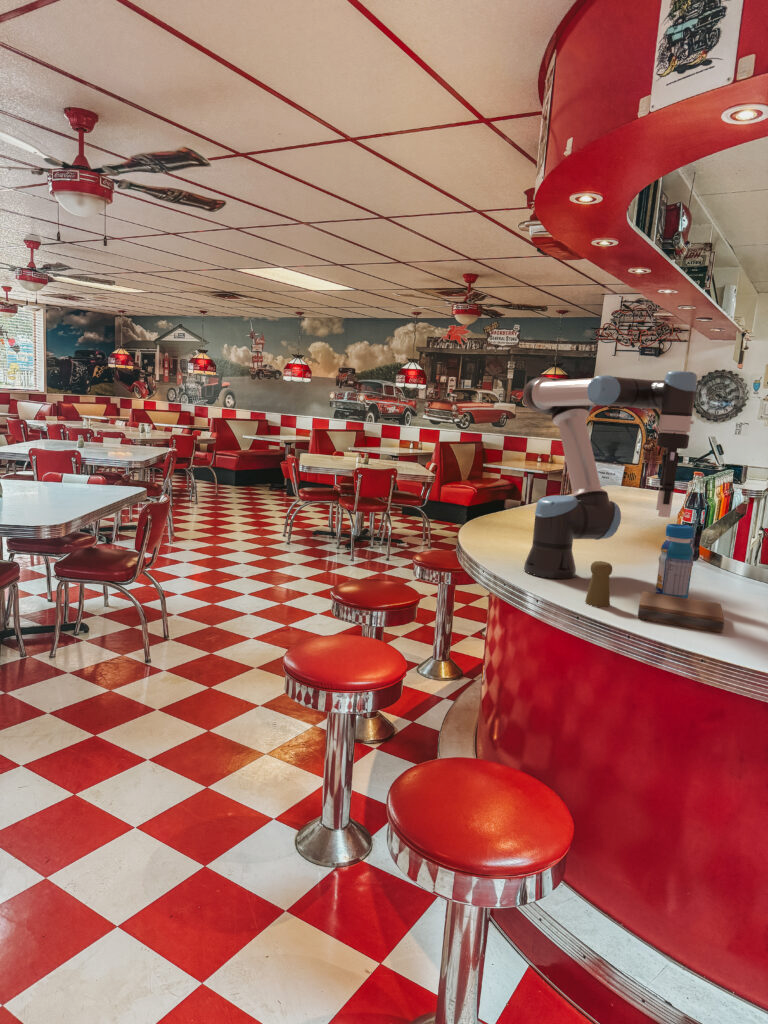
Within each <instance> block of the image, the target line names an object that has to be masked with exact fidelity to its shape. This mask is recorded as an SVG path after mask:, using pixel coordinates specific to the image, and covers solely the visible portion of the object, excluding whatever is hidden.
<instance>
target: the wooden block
mask: <svg viewBox="0 0 768 1024" xmlns="http://www.w3.org/2000/svg"><path fill="white" fill-rule="evenodd" d="M639 618H644V619H648V620H647V621H650V620H654V621H653V622H656V621H659V622H658V623H662V622H664V623H663V624H667V623H670V624H669V625H673V624H675V625H674V626H679V625H680V626H681V627H685V626H686V627H685V628H692V629H697V630H703V631H709V632H715V633H721V634H722V633H723V630H724V627H725V616H724V611H723V607H722V604H721V603H720V602H714V601H713V602H712V601H708V600H707V601H706V600H702V599H701V600H700V599H694V598H689V597H688V598H682V597H676V596H669V595H663V594H657V593H655V592H649V591H642V592H641V596H640V600H639V605H638V611H637V619H639ZM644 619H643V620H644ZM680 626H679V627H680Z"/></svg>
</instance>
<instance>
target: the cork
mask: <svg viewBox="0 0 768 1024" xmlns="http://www.w3.org/2000/svg"><path fill="white" fill-rule="evenodd" d="M590 572H591V574H592V575H591V577H590V582H589V586H588V589H587V593H586V597H585V600H584V603H585V602H586V603H587V604H589V605H588V606H590V605H592V606H591V607H594V606H597V607H596V608H600V607H606V608H610V607H611V606H610V605H611V604H610V603H611V601H610V599H611V598H610V597H611V596H610V595H611V593H610V576H611V574H612V573H613V565H612V564H611V563H610V562H607V561H601V560H598V561H597V560H596V561H594V562H592V563H591V565H590ZM586 603H585V604H586ZM587 604H586V605H587Z"/></svg>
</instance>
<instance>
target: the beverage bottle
mask: <svg viewBox="0 0 768 1024" xmlns="http://www.w3.org/2000/svg"><path fill="white" fill-rule="evenodd" d="M694 536H695V528H694V526H691V525H686V524H679V523H668V524H666V529H665V537H666V538H667V539H666V540H665V541H664V542H663V543H662V545H661V546H660V552H661V553H660V555H659V556H658V571H657V579H656V587H655V591H654V593H657V594H663V595H669V596H676V597H682V598H688V599H689V589H690V583H691V576H692V569H693V567H694V559H693V556H694V555H695V551H694V550H695V549H694V546H693V544H692V542H691V541H693V539H694Z"/></svg>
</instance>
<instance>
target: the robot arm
mask: <svg viewBox="0 0 768 1024" xmlns="http://www.w3.org/2000/svg"><path fill="white" fill-rule="evenodd" d="M697 381H698V374H696V373H695V372H693V371H686V370H685V371H683V370H682V371H681V370H676V371H675V370H673V371H667V373H666V374H665V378H664V379H663V380H662V379H661V380H660V379H659V380H657V379H656V380H654V379H641V378H631V377H630V378H628V377H621V376H620V377H619V376H613V375H597V376H595V377H591V378H590V377H589V378H577V379H575V378H570V379H567V378H557V377H556V378H555V377H549V376H548V377H546V376H541V377H540V376H539V377H535V378H533V379H531V380H530V381H529V382H527V383H526V385H525V387H524V388H523V392H522V398H523V402H524V404H525V406H526V407H527V408H528V409H529V410H530V411H532V412H534V413H537V414H544V415H550V416H551V421H552V423H553V425H554V426H556V427H558V431H559V435H560V440H561V445H562V448H563V453H564V454H563V455H564V458H565V464H566V469H567V471H568V476H569V477H568V478H569V482H570V487H571V492H572V495H559V494H558V495H548V496H543V497H540V498H539V500H537V502H536V506H535V511H534V525H533V537H532V544H531V548H530V550H529V553H528V555H527V556H526V560H524V561H525V562H524V566H523V567H524V568H523V571H524V570H525V571H526V572H525V571H524V572H525V573H527V572H529V573H531V574H530V575H532V574H535V575H538V576H537V577H539V576H543V577H542V578H545V577H549V578H548V579H553V578H558V579H557V580H568V579H573V578H575V577H576V574H577V573H576V572H577V569H576V563H575V559H574V554H573V544H574V540H597V541H599V540H602V539H603V540H604V539H606V540H607V539H609V538H612V536H614V535H615V534H616V533H617V532H618V529H619V527H620V524H621V520H622V513H621V512H622V511H621V508H620V507H619V505H618V504H617V503H616V502H614V501H612V500H610V497H609V494H608V492H607V491H606V490H605V489H603V488H602V487H601V483H600V482H601V481H600V478H599V473H598V469H597V465H596V460H595V455H594V451H593V447H592V441H591V437H590V434H589V430H588V424H587V419H588V418H589V416H590V413H591V412H592V409H593V406H594V407H595V406H600V407H601V406H602V407H603V406H605V407H606V406H610V407H614V406H615V407H625V408H627V407H628V408H636V409H641V410H642V409H643V410H647V409H651V410H652V409H653V410H659V409H661V410H660V415H659V421H658V422H659V423H658V428H657V429H658V430H659V432H658V433H657V437H656V447H658V448H666V449H664V451H663V453H662V456H661V464H660V465H661V472H660V479H659V486H658V494H657V501H656V508H655V509H656V511H658V515H657V516H658V517H661V518H671V511H672V504H673V497H674V491H675V489H676V486H675V484H676V475H677V469H678V467H679V466H678V465H679V461H680V455H679V454H680V453H679V452H678V449H681V450H682V449H683V450H686V449H688V447H689V441H690V435H689V434H688V433H689V432H690V431H691V428H692V427H691V425H694V424H695V420H692V418H693V411H694V404H695V398H696V395H697V394H696V392H697V390H698V389H697V384H698V382H697ZM529 573H528V574H529ZM535 575H534V576H535Z"/></svg>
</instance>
